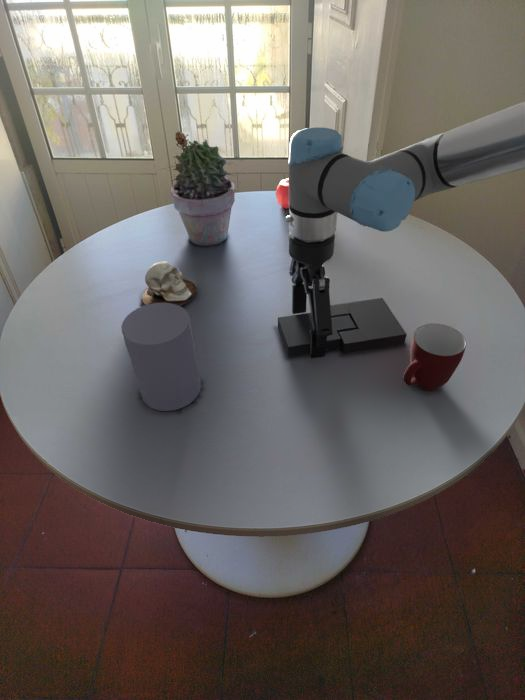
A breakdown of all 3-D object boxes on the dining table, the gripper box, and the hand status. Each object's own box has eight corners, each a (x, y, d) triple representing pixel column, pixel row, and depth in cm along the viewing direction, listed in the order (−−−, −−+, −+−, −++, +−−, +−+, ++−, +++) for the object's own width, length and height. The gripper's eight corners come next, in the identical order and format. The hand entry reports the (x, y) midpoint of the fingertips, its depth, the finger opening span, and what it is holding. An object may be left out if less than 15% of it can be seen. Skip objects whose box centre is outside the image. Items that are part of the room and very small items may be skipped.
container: (213, 389, 82) (202, 322, 71) (163, 422, 76) (145, 354, 66) (178, 361, 87) (164, 294, 77) (130, 389, 82) (108, 323, 72)
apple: (306, 209, 132) (306, 182, 127) (278, 212, 131) (277, 184, 126) (300, 198, 138) (301, 171, 133) (273, 200, 137) (273, 173, 132)
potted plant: (234, 259, 114) (226, 154, 97) (162, 249, 118) (142, 147, 102) (258, 225, 126) (253, 127, 110) (191, 217, 131) (178, 122, 114)
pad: (359, 345, 89) (360, 335, 87) (288, 357, 87) (288, 347, 85) (343, 317, 95) (344, 307, 94) (277, 327, 94) (277, 317, 92)
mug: (425, 416, 76) (439, 372, 69) (384, 389, 80) (393, 346, 73) (460, 383, 81) (476, 339, 74) (420, 360, 85) (431, 316, 78)
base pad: (404, 344, 89) (406, 334, 87) (343, 354, 87) (344, 344, 85) (380, 307, 97) (382, 297, 96) (325, 315, 96) (325, 305, 94)
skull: (211, 284, 104) (185, 269, 95) (190, 326, 104) (162, 315, 95) (172, 266, 109) (144, 250, 100) (153, 306, 109) (123, 294, 100)
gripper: (273, 202, 85) (275, 298, 99) (309, 276, 66) (305, 381, 80) (313, 198, 85) (309, 293, 100) (360, 269, 67) (347, 374, 81)
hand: (307, 333), depth 90 cm, fingers open, 13 cm apart
